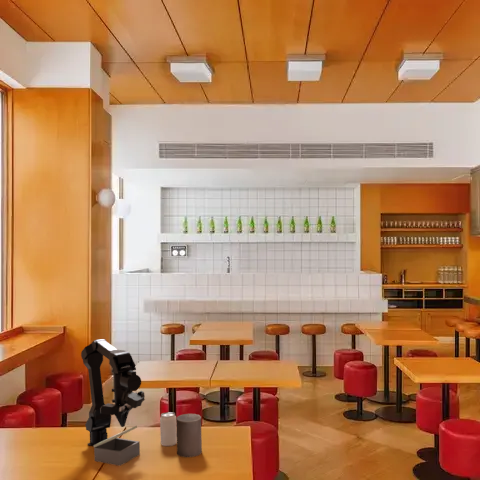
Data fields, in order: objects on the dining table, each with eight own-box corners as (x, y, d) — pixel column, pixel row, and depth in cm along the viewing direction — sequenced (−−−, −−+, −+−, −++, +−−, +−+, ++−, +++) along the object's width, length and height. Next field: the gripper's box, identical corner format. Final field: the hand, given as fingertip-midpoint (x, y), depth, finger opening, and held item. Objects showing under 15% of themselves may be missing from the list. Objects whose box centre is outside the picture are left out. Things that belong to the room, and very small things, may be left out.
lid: (94, 447, 216) (93, 445, 216) (114, 437, 227) (114, 434, 227) (117, 437, 211) (116, 435, 212) (137, 427, 222) (136, 425, 222)
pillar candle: (171, 453, 222) (170, 414, 222) (190, 446, 229) (189, 408, 229) (188, 459, 215) (187, 420, 215) (207, 452, 222) (206, 413, 222)
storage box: (94, 461, 216) (94, 447, 216) (115, 450, 227) (114, 437, 227) (120, 465, 211) (119, 452, 211) (139, 454, 222) (139, 441, 222)
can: (174, 447, 229) (173, 417, 229) (158, 446, 230) (157, 416, 230) (178, 441, 235) (178, 412, 235) (163, 440, 236) (163, 411, 236)
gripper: (123, 393, 206) (124, 437, 206) (153, 381, 222) (154, 421, 222) (98, 390, 211) (100, 433, 211) (130, 379, 227) (131, 418, 227)
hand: (122, 426), depth 218 cm, fingers closed
